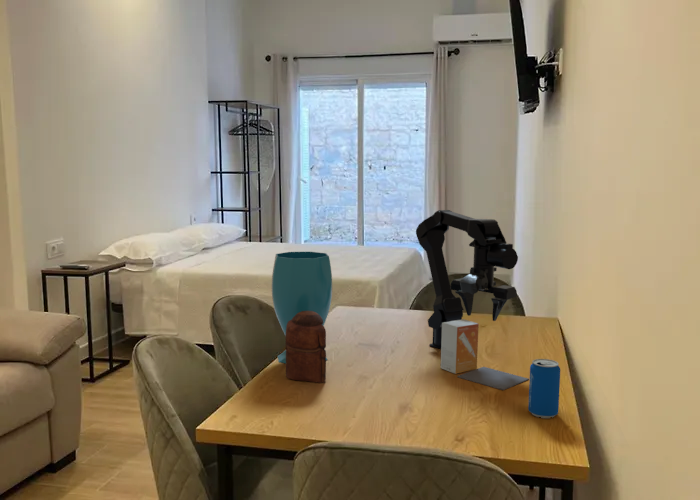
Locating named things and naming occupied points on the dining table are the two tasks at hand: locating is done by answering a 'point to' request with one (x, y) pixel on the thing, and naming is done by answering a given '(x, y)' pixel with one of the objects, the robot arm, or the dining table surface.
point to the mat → (493, 378)
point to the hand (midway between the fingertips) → (481, 318)
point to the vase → (301, 286)
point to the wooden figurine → (306, 348)
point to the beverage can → (544, 388)
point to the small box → (459, 346)
